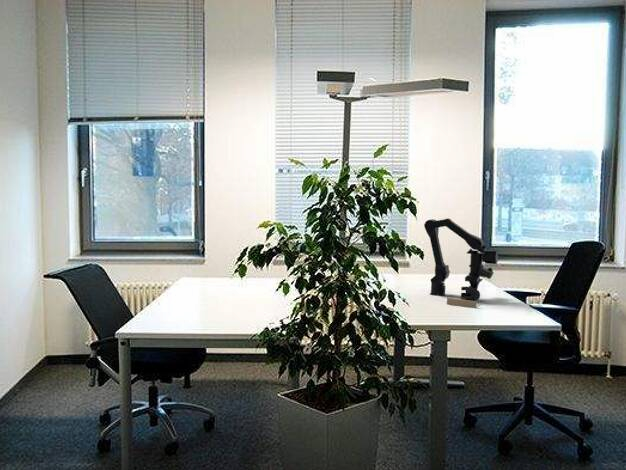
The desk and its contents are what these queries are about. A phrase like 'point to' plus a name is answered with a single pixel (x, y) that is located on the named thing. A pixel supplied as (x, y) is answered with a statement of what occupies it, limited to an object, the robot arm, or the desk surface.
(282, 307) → the desk surface
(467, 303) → the mat
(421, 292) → the desk surface
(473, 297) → the end cap
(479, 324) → the desk surface
